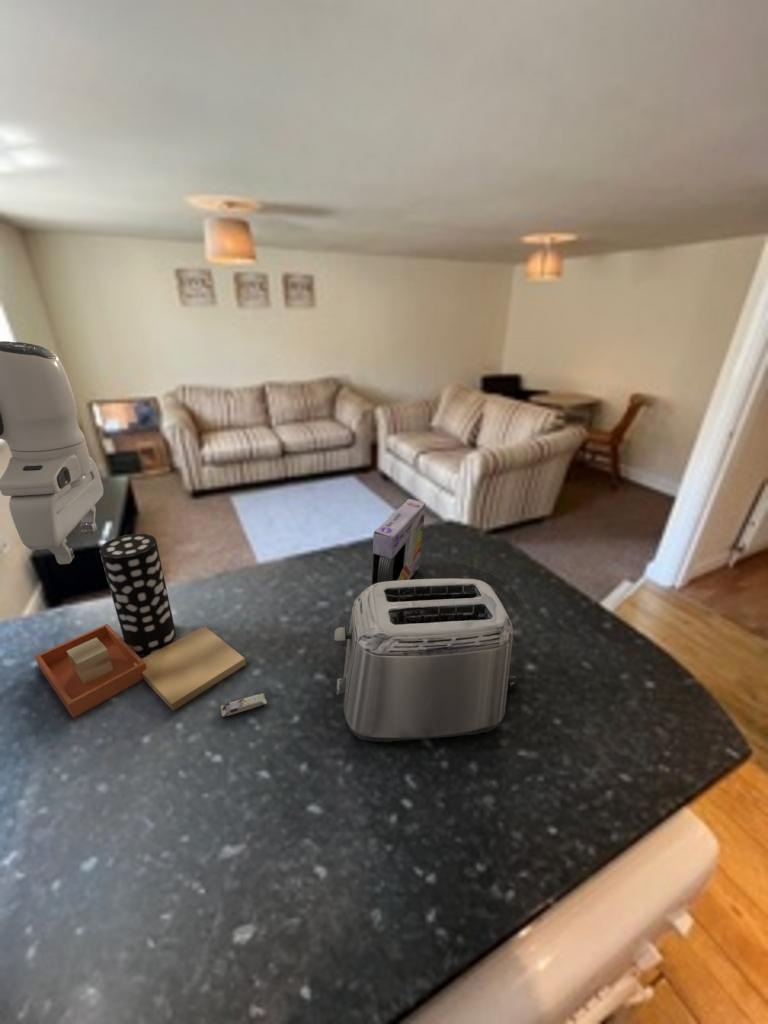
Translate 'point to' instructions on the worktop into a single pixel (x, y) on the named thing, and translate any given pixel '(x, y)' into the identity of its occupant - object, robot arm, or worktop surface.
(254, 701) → the granola bar
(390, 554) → the cake pan box
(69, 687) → the orange-brown tray
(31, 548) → the robot arm
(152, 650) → the white-spotted black cylinder
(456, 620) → the toaster
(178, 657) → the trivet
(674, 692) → the worktop surface
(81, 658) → the block
